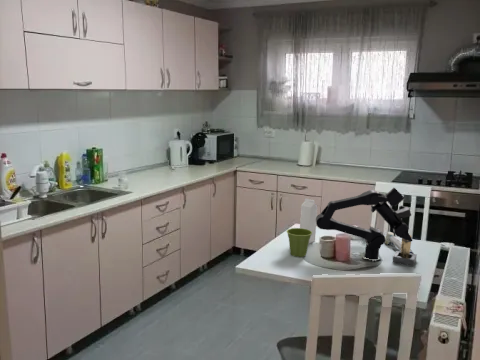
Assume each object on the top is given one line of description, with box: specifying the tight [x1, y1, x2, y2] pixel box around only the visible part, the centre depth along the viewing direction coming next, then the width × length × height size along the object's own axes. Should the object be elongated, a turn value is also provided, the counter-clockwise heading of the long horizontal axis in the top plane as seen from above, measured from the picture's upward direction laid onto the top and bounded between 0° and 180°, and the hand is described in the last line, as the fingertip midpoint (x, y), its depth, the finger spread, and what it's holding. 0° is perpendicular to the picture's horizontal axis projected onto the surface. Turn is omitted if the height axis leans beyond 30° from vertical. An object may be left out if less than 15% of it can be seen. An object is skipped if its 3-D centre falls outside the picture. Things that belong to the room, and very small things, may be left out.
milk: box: [299, 197, 318, 245], centre depth 239 cm, size 6×6×22 cm
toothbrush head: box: [384, 231, 415, 254], centre depth 233 cm, size 5×7×25 cm
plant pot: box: [286, 227, 312, 258], centre depth 219 cm, size 12×12×11 cm
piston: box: [400, 234, 413, 258], centre depth 216 cm, size 4×4×12 cm
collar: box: [392, 250, 418, 267], centre depth 216 cm, size 9×9×3 cm
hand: (409, 237), depth 214 cm, fingers open, 9 cm apart
